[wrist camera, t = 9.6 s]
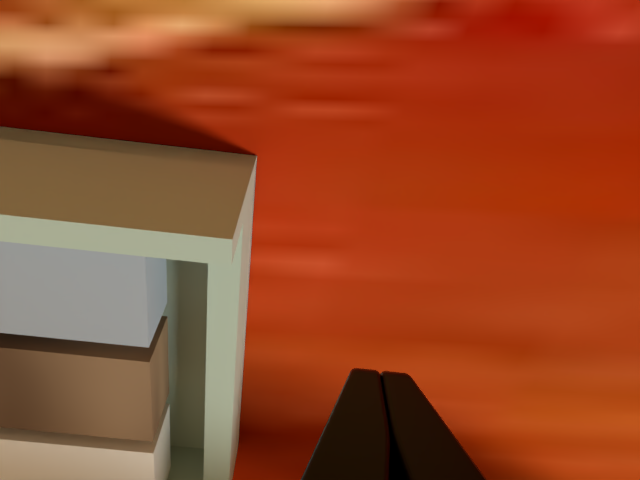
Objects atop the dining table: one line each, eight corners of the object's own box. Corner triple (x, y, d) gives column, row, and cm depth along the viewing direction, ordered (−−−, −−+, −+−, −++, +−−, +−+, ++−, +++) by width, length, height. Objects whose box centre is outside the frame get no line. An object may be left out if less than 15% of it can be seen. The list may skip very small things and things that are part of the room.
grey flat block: (165, 208, 18) (144, 247, 16) (167, 302, 20) (148, 347, 18) (-101, 179, 18) (-155, 215, 16) (-75, 277, 20) (-120, 320, 18)
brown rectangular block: (167, 316, 20) (149, 362, 18) (169, 392, 22) (152, 441, 20) (-70, 292, 20) (-115, 335, 18) (-49, 371, 22) (-87, 419, 20)
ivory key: (169, 403, 23) (153, 453, 21) (170, 466, 24) (156, 518, 22) (-46, 383, 22) (-83, 431, 20) (-28, 448, 24) (-61, 498, 22)
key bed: (256, 155, 20) (232, 239, 15) (238, 445, 27) (217, 564, 22) (-144, 110, 19) (-299, 182, 15) (-54, 418, 26) (-139, 533, 22)
